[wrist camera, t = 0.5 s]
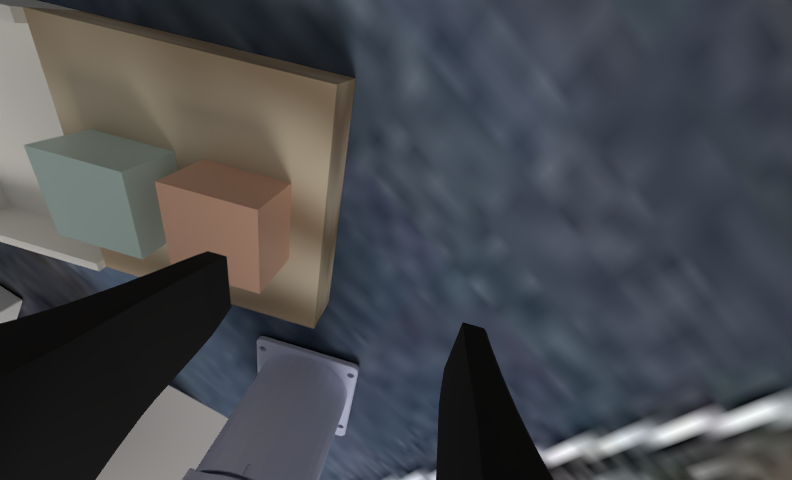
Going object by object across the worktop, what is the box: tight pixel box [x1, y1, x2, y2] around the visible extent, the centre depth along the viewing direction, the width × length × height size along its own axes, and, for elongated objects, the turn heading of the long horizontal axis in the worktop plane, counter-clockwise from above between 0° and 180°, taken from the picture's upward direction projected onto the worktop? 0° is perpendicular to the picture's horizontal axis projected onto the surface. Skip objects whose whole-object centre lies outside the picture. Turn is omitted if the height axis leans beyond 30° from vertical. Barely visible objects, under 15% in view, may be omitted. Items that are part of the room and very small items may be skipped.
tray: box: [0, 0, 106, 271], centre depth 19 cm, size 14×10×4 cm
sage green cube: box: [24, 129, 178, 259], centre depth 17 cm, size 4×4×3 cm
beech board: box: [23, 7, 356, 329], centre depth 19 cm, size 14×14×2 cm
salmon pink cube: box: [155, 159, 292, 294], centre depth 16 cm, size 4×4×3 cm
